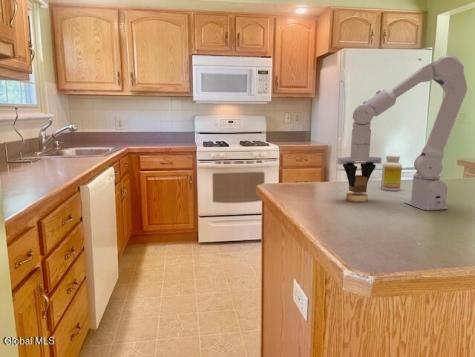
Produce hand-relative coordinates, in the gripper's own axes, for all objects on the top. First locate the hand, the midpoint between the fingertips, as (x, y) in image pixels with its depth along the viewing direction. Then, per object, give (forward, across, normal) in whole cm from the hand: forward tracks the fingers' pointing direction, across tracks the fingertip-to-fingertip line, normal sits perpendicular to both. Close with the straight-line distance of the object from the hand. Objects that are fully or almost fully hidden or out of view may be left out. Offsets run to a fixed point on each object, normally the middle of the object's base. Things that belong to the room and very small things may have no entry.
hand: (357, 185), depth 115 cm
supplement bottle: (+5, -22, -14) cm, 27 cm away
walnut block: (+2, 0, 0) cm, 2 cm away
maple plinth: (+5, 0, 0) cm, 5 cm away
